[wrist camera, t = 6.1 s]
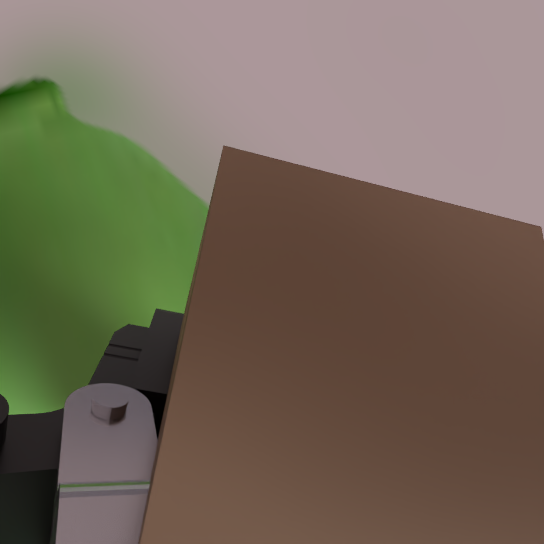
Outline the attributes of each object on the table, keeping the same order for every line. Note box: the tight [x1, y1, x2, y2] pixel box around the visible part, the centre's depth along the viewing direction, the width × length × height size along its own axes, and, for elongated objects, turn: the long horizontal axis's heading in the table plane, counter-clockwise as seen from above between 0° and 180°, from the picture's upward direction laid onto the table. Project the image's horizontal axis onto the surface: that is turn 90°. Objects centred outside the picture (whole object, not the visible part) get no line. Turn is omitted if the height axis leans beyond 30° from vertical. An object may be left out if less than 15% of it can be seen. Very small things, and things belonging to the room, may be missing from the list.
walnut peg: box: [138, 146, 544, 544], centre depth 11 cm, size 4×4×14 cm
